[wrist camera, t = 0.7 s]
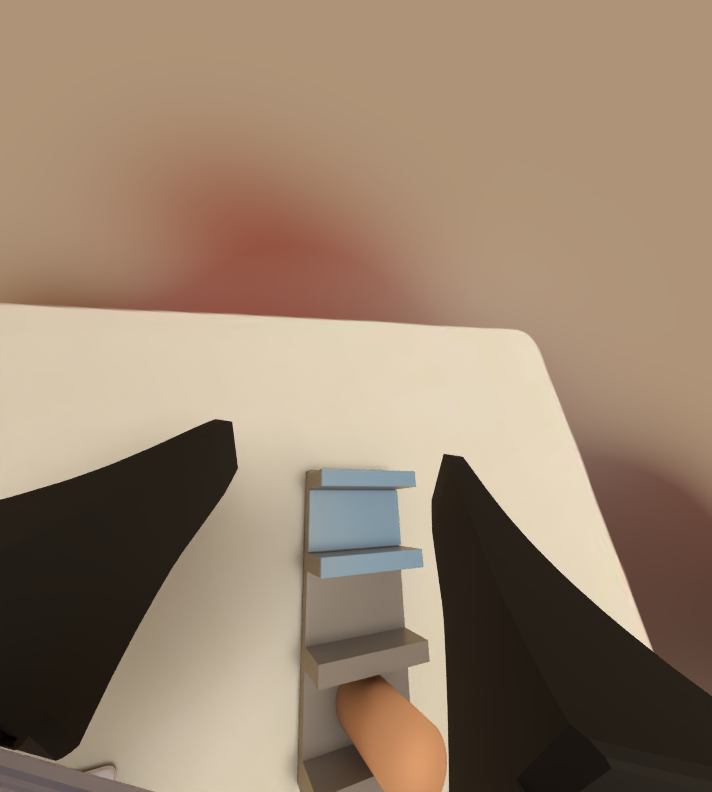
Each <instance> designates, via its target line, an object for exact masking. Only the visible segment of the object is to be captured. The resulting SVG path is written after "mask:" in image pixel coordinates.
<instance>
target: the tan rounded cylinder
mask: <svg viewBox="0 0 712 792" xmlns="http://www.w3.org/2000/svg"><path fill="white" fill-rule="evenodd" d="M336 713H337V717H338V719H339V722H340V723H341V725H342V727H343V728H344V730H345V731H346V733H347V734H348V736H349V737H350V739H351V741H352V742H353V744H354V745H355V747H356V748H357V750H358V752H359V753H360V755H361V756H362V758H363V759H364V761H365V762H366V764H367V766H368V767H369V769H370V770H371V772H372V773H373V775H374V776H375V778H376V780H377V781H378V783H379V784H380V786H381V787H382V789H383V791H384V792H441V791H442V788H443V785H444V781H445V776H446V768H447V757H446V748H445V744H444V741H443V738H442V735H441V733H440V732H439V730H438V728H437V727H436V726H435V725H434V724H433V723H432V722H431V721H430V720H429V719H427V718H426V717H425V716H424V715H423V714H422V713H421V712H420V711H419V710H418V709H417V708H416V707H414V706H413V705H412V704H411V703H410V702H409V701H408V700H407V699H406V698H405V697H404V696H402V695H401V694H400V693H399V692H398V691H397V690H396V689H395V688H394V687H393V686H392V685H390V684H389V683H388V682H387V681H386V680H385V679H384V678H383V677H382V676H381V675H380V674H379V675H375V676H372V677H368V678H364V679H360V680H356V681H352V682H349V683H345V684H341V685H339V688H338V691H337V695H336Z"/></svg>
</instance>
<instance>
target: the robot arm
mask: <svg viewBox="0 0 712 792" xmlns="http://www.w3.org/2000/svg"><path fill="white" fill-rule="evenodd" d="M237 469H238V465H237V457H236V449H235V441H234V433H233V425H232V422H230V421H224V420H217V419H215V420H212V421H209V422H207V423H204V424H202V425H200V426H198V427H195V428H193V429H191V430H189V431H187V432H184V433H182V434H180V435H178V436H176V437H174V438H171V439H169V440H167V441H165V442H163V443H160V444H158V445H156V446H154V447H152V448H149V449H147V450H145V451H142V452H140V453H137V454H135V455H133V456H130V457H128V458H126V459H123V460H121V461H118V462H116V463H114V464H111V465H108V466H106V467H103V468H100V469H98V470H95V471H92V472H89V473H87V474H84V475H81V476H78V477H75V478H72V479H69V480H66V481H63V482H60V483H57V484H53V485H50V486H47V487H43V488H40V489H36V490H33V491H30V492H26V493H23V494H20V495H16V496H13V497H9V498H5V499H1V500H0V746H1V747H4V748H8V749H12V750H20V751H23V752H27V753H30V754H34V755H37V756H41V757H45V758H48V759H52V760H55V761H56V760H59V759H61V758H63V757H64V756H66V755H68V754H69V753H71V752H72V751H73V750H74V749H75V748H77V747H78V746H79V744H80V742H81V740H82V738H83V736H84V734H85V731H86V729H87V727H88V725H89V723H90V721H91V719H92V717H93V715H94V713H95V711H96V709H97V706H98V704H99V702H100V700H101V698H102V696H103V694H104V692H105V690H106V688H107V686H108V684H109V682H110V680H111V678H112V676H113V674H114V672H115V670H116V668H117V666H118V664H119V662H120V660H121V658H122V657H123V655H124V653H125V651H126V649H127V647H128V645H129V643H130V641H131V639H132V637H133V635H134V634H135V632H136V630H137V628H138V626H139V624H140V623H141V621H142V619H143V617H144V616H145V614H146V612H147V610H148V608H149V607H150V605H151V603H152V601H153V599H154V598H155V596H156V594H157V592H158V591H159V589H160V587H161V586H162V584H163V582H164V581H165V579H166V577H167V576H168V574H169V572H170V570H171V569H172V567H173V565H174V564H175V562H176V561H177V559H178V558H179V556H180V555H181V553H182V552H183V551H184V549H185V548H186V546H187V545H188V544H189V542H190V541H191V540H192V538H193V537H194V535H195V534H196V533H197V531H198V530H199V529H200V527H201V526H202V524H203V523H204V522H205V520H206V519H207V517H208V516H209V515H210V513H211V512H212V511H213V509H214V508H215V506H216V505H217V503H218V502H219V501H220V499H221V498H222V496H223V495H224V493H225V492H226V490H227V488H228V486H229V484H230V483H231V481H232V479H233V477H234V475H235V473H236V471H237ZM432 533H433V541H434V548H435V556H436V563H437V570H438V577H439V584H440V591H441V599H442V607H443V617H444V632H445V653H446V677H447V705H448V747H449V792H712V696H710V695H709V694H708V693H707V692H705V691H704V690H703V689H701V688H700V687H699V686H697V685H696V684H694V683H693V682H692V681H690V680H689V679H688V678H686V677H685V676H683V675H682V674H681V673H680V672H678V671H677V670H676V669H674V668H672V666H670V665H669V664H668V663H666V662H665V661H664V660H663V659H661V658H660V657H659V656H658V655H656V654H655V653H654V652H653V651H651V650H650V649H649V648H648V647H646V646H645V645H644V644H643V643H641V642H640V641H639V640H638V639H636V638H635V637H634V636H633V635H631V634H630V633H629V632H628V631H626V630H625V629H624V628H623V627H622V626H620V625H619V624H618V623H617V622H616V621H614V620H613V619H612V618H611V617H610V616H608V615H607V614H606V613H605V612H604V611H603V610H601V609H600V608H599V607H598V606H597V605H596V604H595V603H594V602H593V601H591V600H590V599H589V598H588V597H587V596H586V595H585V594H584V593H582V592H581V591H580V590H579V589H578V588H577V587H576V586H575V585H574V584H572V583H571V582H570V581H569V580H568V579H567V578H566V577H565V576H564V575H563V574H562V573H561V572H560V571H559V570H558V569H557V568H556V567H555V566H554V565H553V564H552V563H551V562H550V561H549V560H548V559H547V558H546V557H545V556H544V555H543V554H542V553H541V552H540V551H539V550H538V549H537V548H536V547H535V546H534V545H533V544H532V543H531V542H530V541H529V540H528V539H527V537H526V536H525V535H524V534H523V533H522V532H521V531H520V530H519V528H518V527H517V526H516V525H515V524H514V523H513V522H512V520H511V519H510V518H509V517H508V516H507V514H506V513H505V512H504V511H503V510H502V508H501V507H500V506H499V505H498V503H497V502H496V501H495V499H494V498H493V497H492V496H491V494H490V493H489V492H488V490H487V489H486V488H485V486H484V485H483V484H482V482H481V481H480V480H479V478H478V477H477V475H476V474H475V473H474V471H473V470H472V468H471V467H470V466H469V464H468V463H467V462H466V460H465V459H464V458H463V457H460V456H454V455H447V454H444V455H443V459H442V462H441V466H440V470H439V474H438V478H437V482H436V486H435V489H434V493H433V497H432ZM115 777H116V770H115V768H114V767H113V766H104V767H100V768H97V769H93V770H90V771H86V772H82V771H79V770H75V769H71V768H68V767H64V766H61V765H57V764H54V763H50V762H46V761H43V760H39V759H36V758H32V757H29V756H25V755H22V754H18V753H14V752H11V751H7V750H4V749H0V792H153V791H150V790H146V789H143V788H139V787H135V786H132V785H128V784H125V783H121V782H118V781H115Z"/></svg>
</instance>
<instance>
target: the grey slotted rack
mask: <svg viewBox="0 0 712 792" xmlns="http://www.w3.org/2000/svg"><path fill="white" fill-rule="evenodd" d="M409 487H416V481H415V471H384V470H351V469H320V470H318V471H317V470H309V471H307V472H306V503H305V538H304V574H303V609H302V644H301V679H300V715H299V750H298V786H299V789H300V792H384V791H383V789H382V787H381V786H380V784H379V783H378V781H377V780H376V778H375V776H374V775H373V773H372V772H371V770H370V769H369V767H368V766H367V764H366V762H365V761H364V759H363V758H362V756H361V755H360V753H359V752H358V750H357V748H356V747H355V745H354V744H353V742H352V741H351V739H350V737H349V736H348V734H347V733H346V731H345V730H344V728H343V727H342V725H341V723H340V722H339V719H338V717H337V713H336V695H337V691H338V688H339V685H341V684H345V683H349V682H352V681H356V680H360V679H364V678H368V677H372V676H375V675H379V674H380V675H381V676H382V677H383V678H384V679H385V680H386V681H387V682H388V683H389V684H390V685H392V686H393V687H394V688H395V689H396V690H397V691H398V692H399V693H400V694H401V695H402V696H404V697H405V698H406V699H407V700H408V701H409V702H410V696H409V682H408V667H410V666H414V665H418V664H422V663H426V662H429V661H430V660H429V649H428V640H426V639H425V638H423V637H421V636H419V635H417V634H416V633H414V632H412V631H410V630H408V629H407V628H405V624H404V609H403V595H402V581H401V570H402V569H410V568H419V567H423V557H422V549H417V548H411V547H404V546H399V545H401V540H400V526H399V512H398V498H397V490H395V489H402V488H409Z"/></svg>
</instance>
